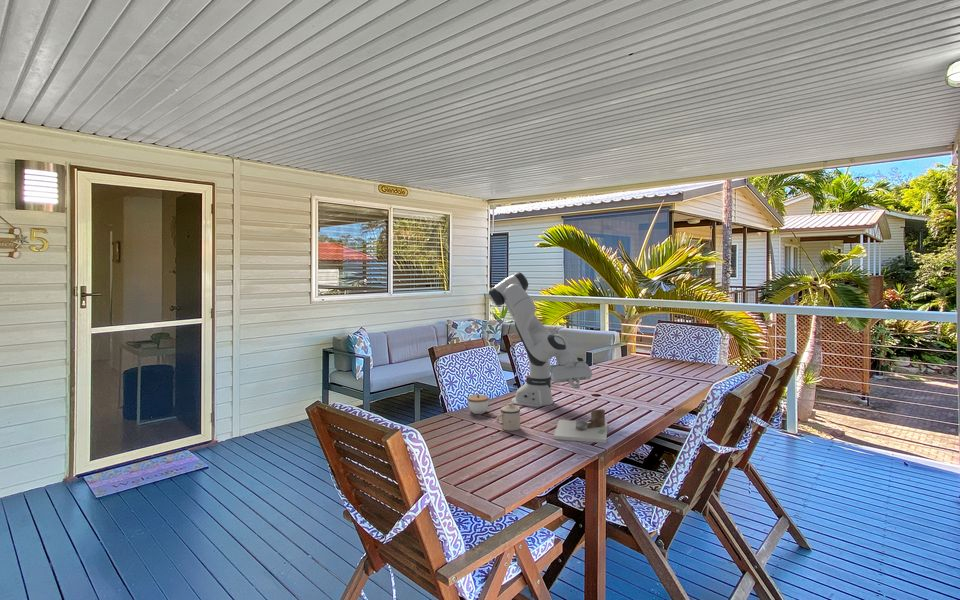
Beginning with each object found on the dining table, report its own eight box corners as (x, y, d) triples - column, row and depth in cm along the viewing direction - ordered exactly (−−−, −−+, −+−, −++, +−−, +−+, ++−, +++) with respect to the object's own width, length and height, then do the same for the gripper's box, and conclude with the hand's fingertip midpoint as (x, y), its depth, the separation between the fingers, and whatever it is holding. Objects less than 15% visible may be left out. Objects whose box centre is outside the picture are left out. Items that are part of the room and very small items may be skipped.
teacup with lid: (513, 423, 239) (513, 399, 238) (524, 428, 231) (524, 403, 230) (491, 428, 233) (491, 403, 232) (502, 433, 225) (502, 408, 224)
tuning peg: (579, 430, 221) (579, 414, 221) (573, 427, 226) (573, 411, 226) (606, 426, 226) (606, 411, 226) (600, 423, 231) (600, 408, 230)
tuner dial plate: (553, 439, 217) (553, 435, 217) (559, 422, 238) (559, 419, 238) (606, 443, 211) (606, 439, 211) (607, 426, 232) (607, 422, 232)
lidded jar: (480, 407, 265) (480, 390, 264) (493, 412, 256) (492, 394, 255) (463, 411, 258) (463, 393, 257) (476, 416, 250) (475, 398, 249)
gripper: (549, 361, 242) (559, 386, 233) (587, 358, 248) (598, 382, 239) (545, 369, 246) (555, 393, 238) (583, 365, 252) (593, 389, 244)
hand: (577, 387), depth 239 cm, fingers closed
